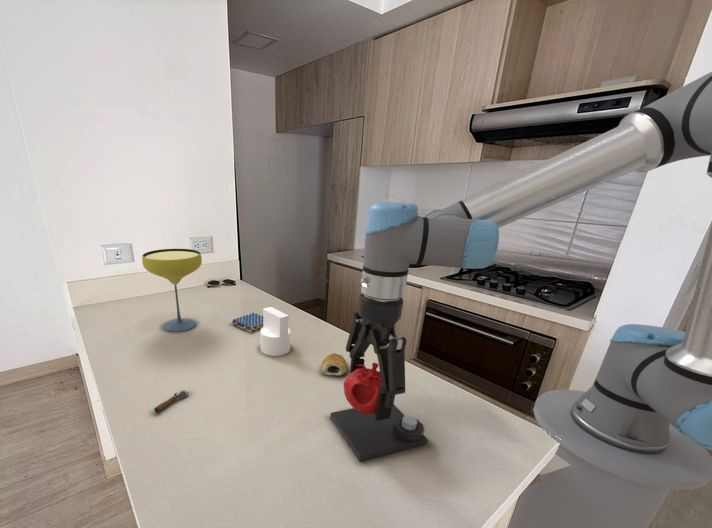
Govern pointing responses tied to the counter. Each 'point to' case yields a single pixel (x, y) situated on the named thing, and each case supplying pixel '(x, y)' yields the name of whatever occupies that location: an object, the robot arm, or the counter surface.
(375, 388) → the pomegranate
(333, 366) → the pastry
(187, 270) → the cocktail glass
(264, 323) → the base with upright slab
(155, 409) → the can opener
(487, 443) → the counter surface
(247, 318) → the woven mat
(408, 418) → the button
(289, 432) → the counter surface
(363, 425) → the scale
